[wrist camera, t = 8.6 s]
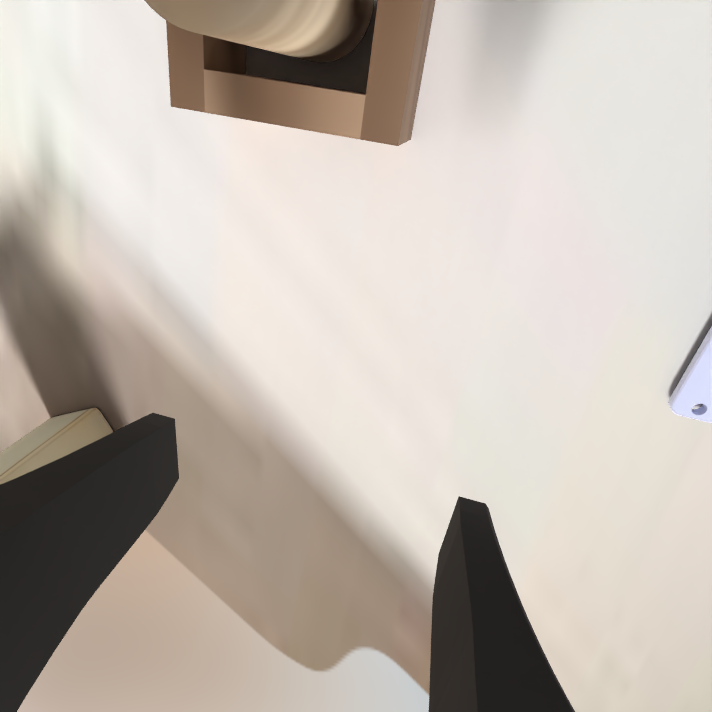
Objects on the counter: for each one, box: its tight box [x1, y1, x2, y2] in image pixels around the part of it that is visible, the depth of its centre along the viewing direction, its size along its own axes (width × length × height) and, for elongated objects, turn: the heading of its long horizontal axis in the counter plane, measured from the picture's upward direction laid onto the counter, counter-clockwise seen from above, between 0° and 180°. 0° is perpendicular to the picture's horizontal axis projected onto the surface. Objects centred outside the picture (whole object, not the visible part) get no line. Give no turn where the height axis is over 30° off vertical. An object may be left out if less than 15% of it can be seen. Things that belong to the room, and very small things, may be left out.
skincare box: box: [0, 408, 113, 484], centre depth 24 cm, size 6×4×12 cm
